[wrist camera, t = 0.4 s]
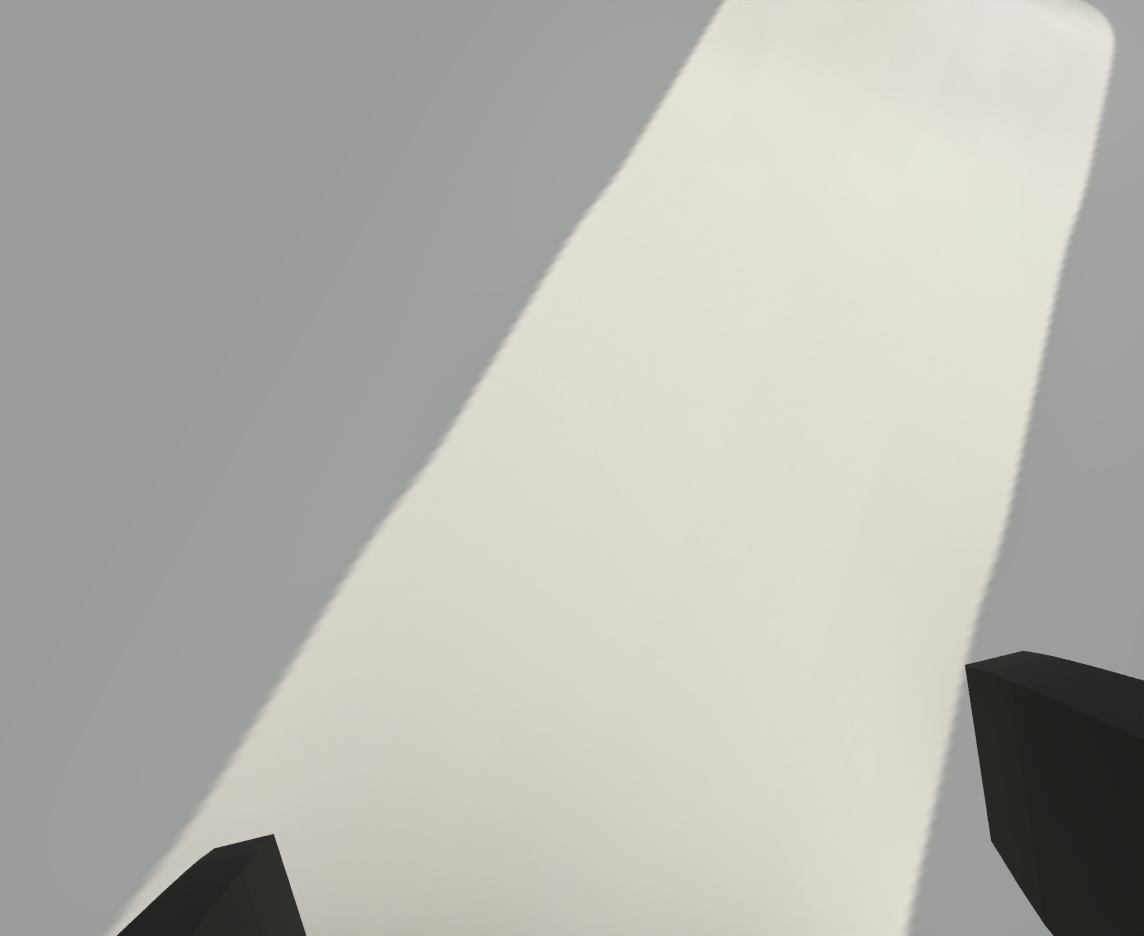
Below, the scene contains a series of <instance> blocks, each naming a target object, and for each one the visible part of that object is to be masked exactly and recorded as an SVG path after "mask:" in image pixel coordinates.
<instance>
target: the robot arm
mask: <svg viewBox="0 0 1144 936" xmlns="http://www.w3.org/2000/svg"><path fill="white" fill-rule="evenodd" d="M965 668H966V675H967V682H968V688H969V695H970V702H971V708H972V715H973V722H974V728H975V734H976V742H977V749H978V755H979V762H980V768H981V775H982V782H983V789H984V795H985V802H986V809H987V816H988V822H989V828H990V836H991V841H992V843H993V844H994V846H995V848H996V849H997V851H998V852H999V854H1000V855H1001V857H1002V859H1003V861H1004V862H1005V864H1006V865H1007V867H1008V869H1009V870H1010V872H1011V873H1012V875H1013V877H1014V878H1015V880H1016V882H1017V883H1018V885H1019V887H1020V888H1021V890H1022V891H1023V893H1024V894H1025V896H1026V897H1027V899H1028V900H1029V902H1030V903H1031V905H1032V906H1033V908H1034V909H1035V911H1036V912H1037V914H1038V915H1039V917H1040V918H1041V920H1042V921H1043V923H1044V924H1045V926H1046V927H1047V928H1048V929H1049V931H1050V932H1051V933H1052V934H1053V935H1054V936H1144V681H1143V680H1140V679H1136V678H1133V677H1129V676H1125V675H1122V674H1118V673H1115V672H1111V671H1107V670H1104V669H1101V668H1097V667H1093V666H1089V665H1086V664H1082V663H1078V662H1074V661H1070V660H1066V659H1062V658H1058V657H1054V656H1049V655H1044V654H1039V653H1033V652H1026V651H1021V652H1017V653H1013V654H1009V655H1004V656H1000V657H996V658H992V659H988V660H984V661H980V662H976V663H971V664H967V665H965ZM117 936H306V933H305V930H304V927H303V924H302V921H301V918H300V915H299V911H298V908H297V905H296V902H295V899H294V896H293V893H292V890H291V886H290V883H289V880H288V877H287V874H286V871H285V868H284V865H283V862H282V858H281V855H280V852H279V849H278V846H277V843H276V840H275V837H274V834H272V835H268V836H263V837H259V838H255V839H251V840H247V841H243V842H239V843H235V844H231V845H227V846H222V847H218V848H214V849H213V850H212V851H210V852H209V853H208V854H206V855H205V856H204V857H202V858H201V859H200V860H198V861H197V862H196V863H195V864H194V865H192V866H191V867H190V868H189V869H188V870H187V871H186V872H184V873H183V874H182V875H181V876H180V877H179V878H178V879H177V880H176V881H174V882H173V883H172V884H171V885H170V886H169V887H168V888H167V889H166V890H165V891H164V892H163V893H161V894H160V895H159V896H158V897H157V898H156V899H155V900H154V901H153V902H152V903H151V904H150V905H149V906H148V907H147V908H146V909H145V910H143V911H142V912H141V913H140V914H139V915H138V916H137V917H136V918H135V919H134V920H133V921H132V922H131V923H130V924H129V925H128V926H127V927H126V928H124V929H123V930H122V931H121V932H120V933H119V934H118V935H117Z"/></svg>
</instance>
